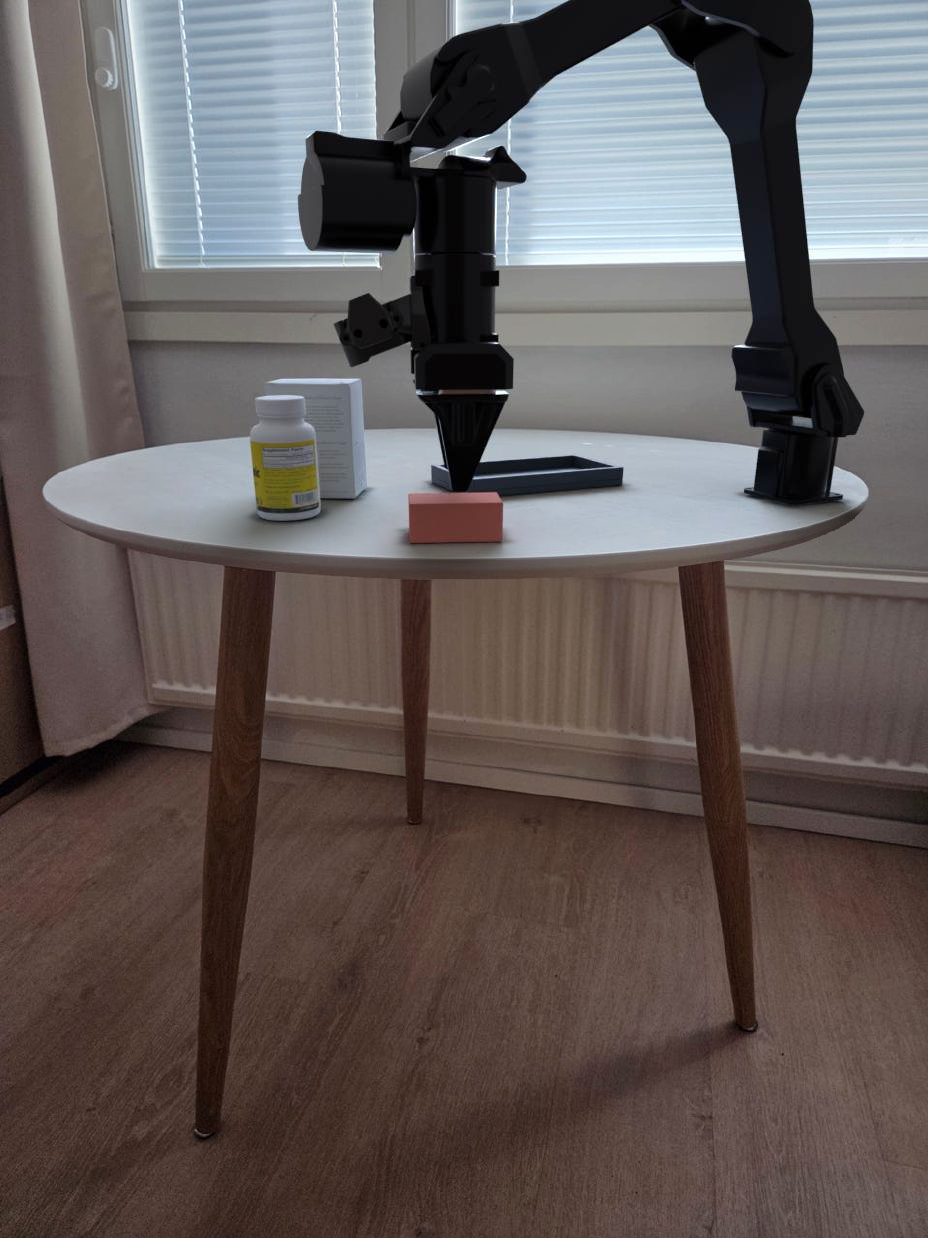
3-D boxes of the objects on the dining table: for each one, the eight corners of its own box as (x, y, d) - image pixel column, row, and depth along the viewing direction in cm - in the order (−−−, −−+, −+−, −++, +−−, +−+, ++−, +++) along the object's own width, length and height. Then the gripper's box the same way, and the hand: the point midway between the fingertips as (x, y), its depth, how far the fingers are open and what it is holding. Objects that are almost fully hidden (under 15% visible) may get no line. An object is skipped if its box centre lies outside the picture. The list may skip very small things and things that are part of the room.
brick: (496, 529, 67) (497, 491, 66) (502, 541, 64) (503, 502, 63) (409, 530, 67) (408, 493, 66) (409, 543, 63) (409, 503, 62)
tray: (574, 470, 93) (575, 454, 93) (622, 484, 85) (623, 467, 85) (431, 482, 86) (430, 464, 86) (468, 498, 79) (468, 479, 78)
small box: (368, 488, 83) (363, 377, 80) (355, 500, 78) (350, 382, 74) (288, 486, 84) (281, 377, 80) (271, 498, 79) (262, 381, 75)
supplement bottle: (265, 507, 75) (256, 394, 71) (326, 508, 75) (320, 394, 71) (249, 521, 70) (238, 400, 66) (314, 522, 69) (306, 400, 66)
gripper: (345, 263, 67) (354, 461, 72) (328, 244, 49) (341, 507, 54) (485, 264, 68) (483, 459, 73) (517, 245, 50) (511, 505, 55)
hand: (455, 479), depth 64 cm, fingers open, 9 cm apart
